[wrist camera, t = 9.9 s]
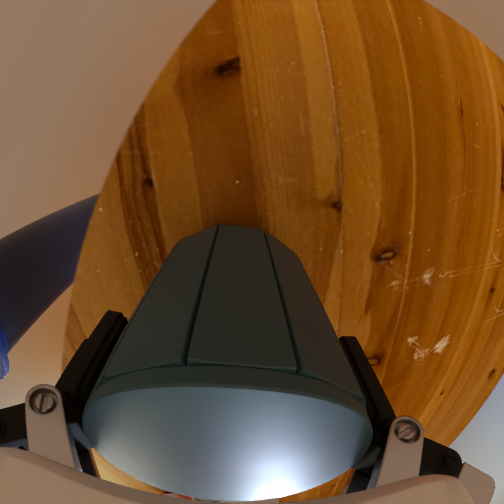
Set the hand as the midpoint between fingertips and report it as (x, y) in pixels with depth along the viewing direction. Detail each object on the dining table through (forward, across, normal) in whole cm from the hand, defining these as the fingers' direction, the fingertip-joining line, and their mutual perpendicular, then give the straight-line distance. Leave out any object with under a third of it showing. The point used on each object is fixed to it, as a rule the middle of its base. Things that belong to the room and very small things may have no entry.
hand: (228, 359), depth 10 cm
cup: (+4, 0, 0) cm, 4 cm away
